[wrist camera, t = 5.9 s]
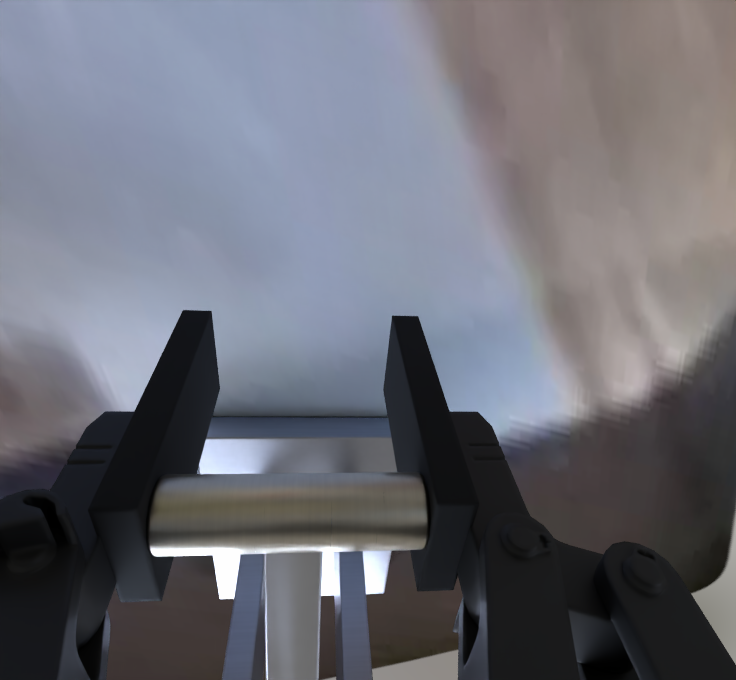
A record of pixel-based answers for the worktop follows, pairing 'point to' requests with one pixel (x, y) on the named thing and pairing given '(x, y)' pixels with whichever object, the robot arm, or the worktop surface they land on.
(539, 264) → the worktop surface
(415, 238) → the worktop surface
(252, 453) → the press bracket
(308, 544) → the metal lever
